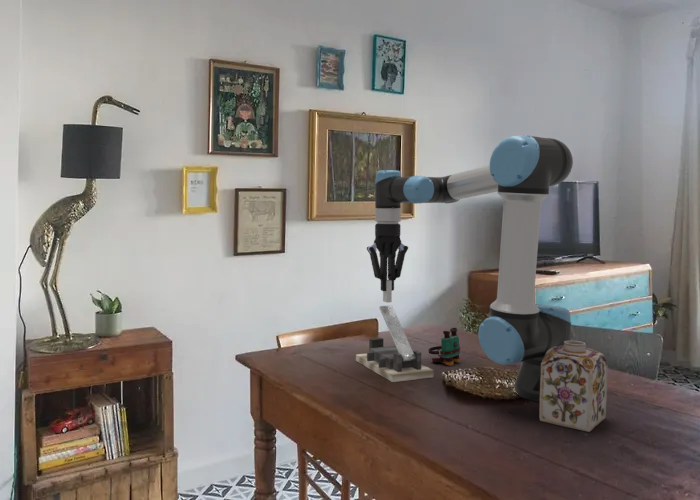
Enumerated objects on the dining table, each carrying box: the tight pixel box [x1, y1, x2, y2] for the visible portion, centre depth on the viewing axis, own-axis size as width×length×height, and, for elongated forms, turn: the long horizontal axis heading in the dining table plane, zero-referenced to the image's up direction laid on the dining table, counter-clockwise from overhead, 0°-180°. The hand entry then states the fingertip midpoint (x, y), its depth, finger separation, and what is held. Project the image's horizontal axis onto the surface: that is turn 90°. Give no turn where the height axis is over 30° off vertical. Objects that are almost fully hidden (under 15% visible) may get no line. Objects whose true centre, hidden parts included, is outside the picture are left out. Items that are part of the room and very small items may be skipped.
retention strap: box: [379, 305, 416, 361], centre depth 184 cm, size 20×4×2 cm
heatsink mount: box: [355, 337, 435, 383], centre depth 187 cm, size 25×13×7 cm, turn 23°
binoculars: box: [428, 327, 462, 367], centre depth 195 cm, size 9×11×10 cm
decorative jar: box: [538, 340, 609, 433], centre depth 143 cm, size 12×12×18 cm
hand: (387, 301), depth 190 cm, fingers closed
